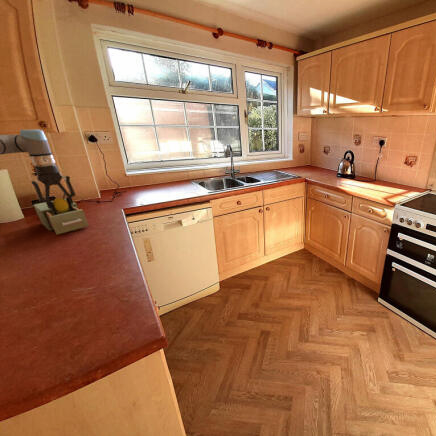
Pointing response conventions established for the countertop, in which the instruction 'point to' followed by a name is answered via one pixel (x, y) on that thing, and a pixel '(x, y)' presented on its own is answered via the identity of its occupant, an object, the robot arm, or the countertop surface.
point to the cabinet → (40, 211)
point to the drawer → (66, 220)
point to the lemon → (60, 205)
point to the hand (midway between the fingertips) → (63, 212)
